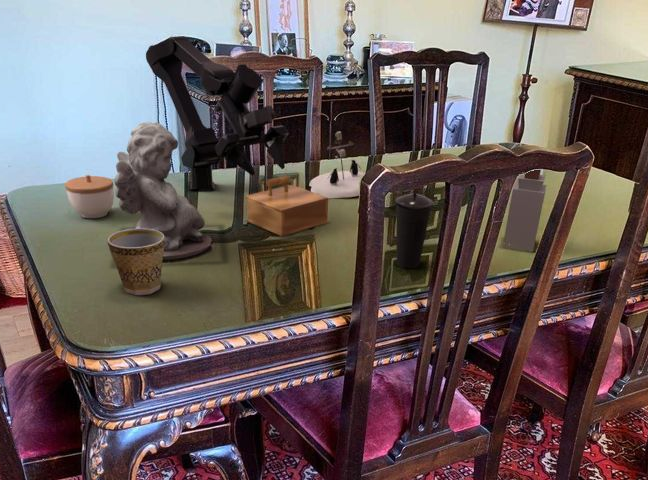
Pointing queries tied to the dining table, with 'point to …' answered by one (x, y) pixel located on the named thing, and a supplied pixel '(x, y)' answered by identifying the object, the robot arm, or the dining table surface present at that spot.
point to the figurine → (338, 177)
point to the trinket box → (90, 195)
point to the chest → (287, 218)
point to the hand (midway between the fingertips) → (268, 171)
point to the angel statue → (159, 193)
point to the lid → (285, 196)
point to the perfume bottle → (525, 211)
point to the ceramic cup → (138, 259)
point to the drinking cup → (411, 228)
